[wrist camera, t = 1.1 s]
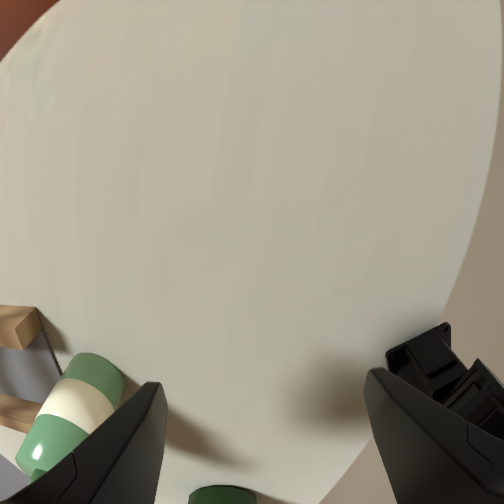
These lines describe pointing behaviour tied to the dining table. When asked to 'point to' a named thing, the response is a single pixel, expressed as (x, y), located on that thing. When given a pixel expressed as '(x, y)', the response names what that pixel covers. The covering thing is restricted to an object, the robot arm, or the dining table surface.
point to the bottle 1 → (71, 412)
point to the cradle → (24, 367)
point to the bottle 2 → (221, 496)
